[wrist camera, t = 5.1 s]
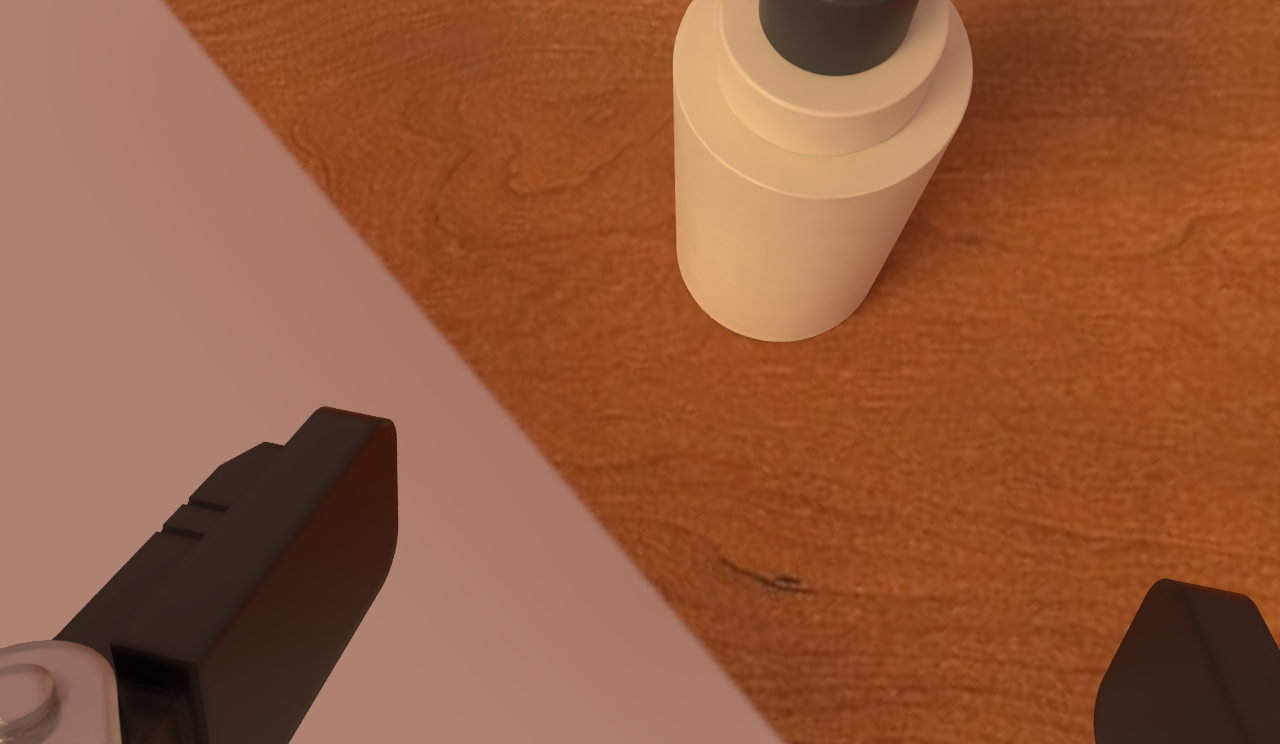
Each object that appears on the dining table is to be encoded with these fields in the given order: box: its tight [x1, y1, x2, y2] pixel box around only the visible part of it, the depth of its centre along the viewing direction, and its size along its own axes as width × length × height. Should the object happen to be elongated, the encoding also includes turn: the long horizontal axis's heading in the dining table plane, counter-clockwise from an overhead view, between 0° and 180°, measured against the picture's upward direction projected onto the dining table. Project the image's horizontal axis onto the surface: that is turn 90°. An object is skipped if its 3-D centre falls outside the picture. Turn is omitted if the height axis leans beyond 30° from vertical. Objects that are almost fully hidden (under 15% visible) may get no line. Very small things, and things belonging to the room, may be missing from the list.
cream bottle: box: [673, 0, 973, 342], centre depth 21 cm, size 6×6×12 cm
